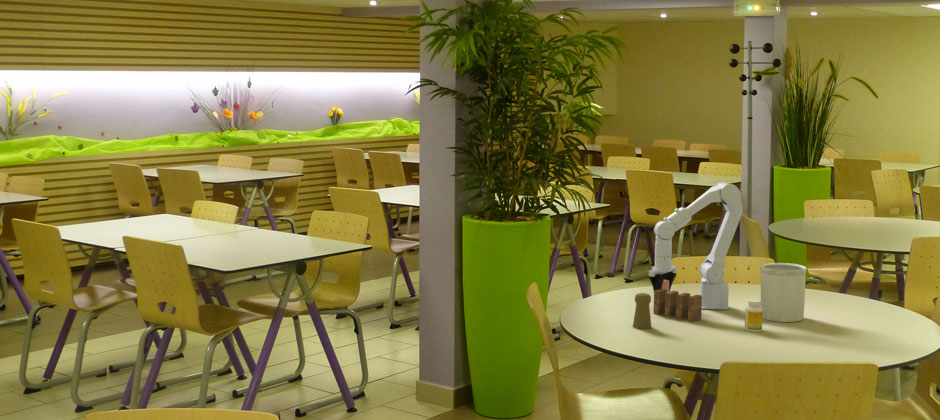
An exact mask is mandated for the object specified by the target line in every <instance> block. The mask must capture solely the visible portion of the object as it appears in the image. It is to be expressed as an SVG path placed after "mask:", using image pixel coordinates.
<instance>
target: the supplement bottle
mask: <svg viewBox="0 0 940 420" xmlns="http://www.w3.org/2000/svg"><path fill="white" fill-rule="evenodd" d="M744 310H745V315H744V330H745V331H747V332H752V333H759V332H762V331H763V308H762V307H761V299H756V298H755V299H754V298H753V299H748V300H747V306H746V307H745V309H744Z"/></svg>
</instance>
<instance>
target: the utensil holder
mask: <svg viewBox="0 0 940 420" xmlns="http://www.w3.org/2000/svg"><path fill="white" fill-rule="evenodd" d="M759 267H760V269H759V270H760V300H761V306H760V307H762V308H763V319H764V320H768V321H772V322H778V323H779V322H780V323H795V322H800V321H803V320H804V316H805V299H806V298H805V297H806V273H807V271H808V269H807V266H804V265H801V264H797V263H787V262H771V263H765V264H761V265H760V266H759Z"/></svg>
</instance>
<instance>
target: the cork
mask: <svg viewBox="0 0 940 420" xmlns="http://www.w3.org/2000/svg"><path fill="white" fill-rule="evenodd" d="M651 297H652V296H651V295H650V293H646V292H640V293H639V292H638V293H636V294H635V296H634V302H635V310H634V317H633V323H632V328H634V329H636V330H650V328H651V329H652V317H651V309H650V303H652V298H651Z"/></svg>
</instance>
